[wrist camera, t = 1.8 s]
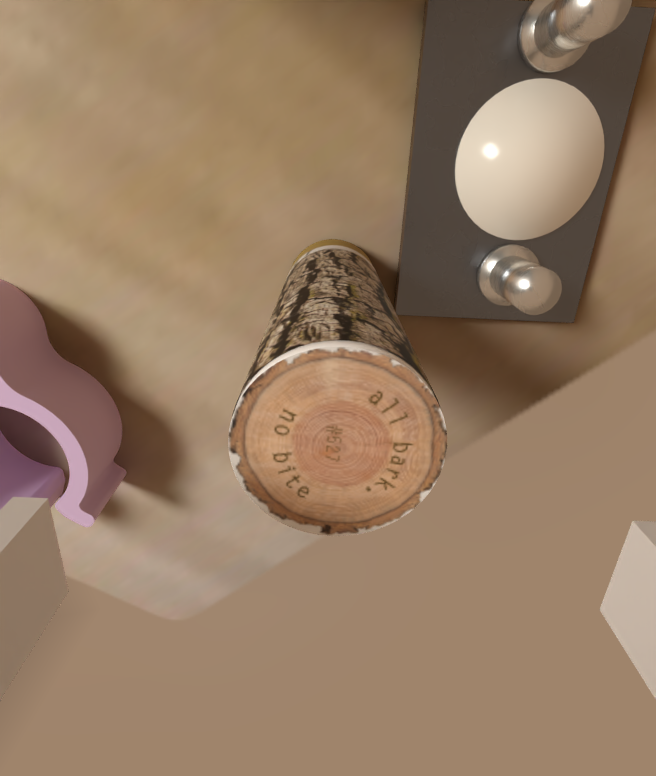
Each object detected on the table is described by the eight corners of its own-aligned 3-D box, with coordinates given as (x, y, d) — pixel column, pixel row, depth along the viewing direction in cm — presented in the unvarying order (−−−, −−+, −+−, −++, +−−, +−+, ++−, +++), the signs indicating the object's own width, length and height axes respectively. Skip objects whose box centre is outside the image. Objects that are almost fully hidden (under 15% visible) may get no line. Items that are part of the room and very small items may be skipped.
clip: (-97, 305, 39) (-180, 331, 32) (41, 260, 37) (-18, 278, 31) (33, 501, 47) (-13, 552, 40) (151, 470, 45) (122, 518, 39)
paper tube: (380, 241, 37) (467, 355, 14) (370, 327, 39) (428, 542, 16) (291, 233, 36) (226, 336, 13) (286, 321, 39) (227, 529, 16)
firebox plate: (425, 1, 31) (428, -5, 29) (644, 14, 31) (655, 8, 30) (393, 310, 39) (395, 314, 38) (566, 318, 39) (573, 322, 38)
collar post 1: (482, 242, 35) (510, 254, 30) (541, 245, 35) (580, 258, 30) (472, 301, 37) (497, 323, 32) (529, 304, 37) (563, 326, 32)
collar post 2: (525, -14, 29) (570, -57, 24) (597, -10, 29) (659, -52, 24) (511, 71, 31) (550, 50, 26) (579, 75, 31) (632, 54, 26)
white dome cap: (467, 75, 31) (468, 74, 31) (620, 83, 31) (623, 82, 31) (444, 236, 35) (445, 236, 35) (580, 242, 35) (582, 243, 35)
